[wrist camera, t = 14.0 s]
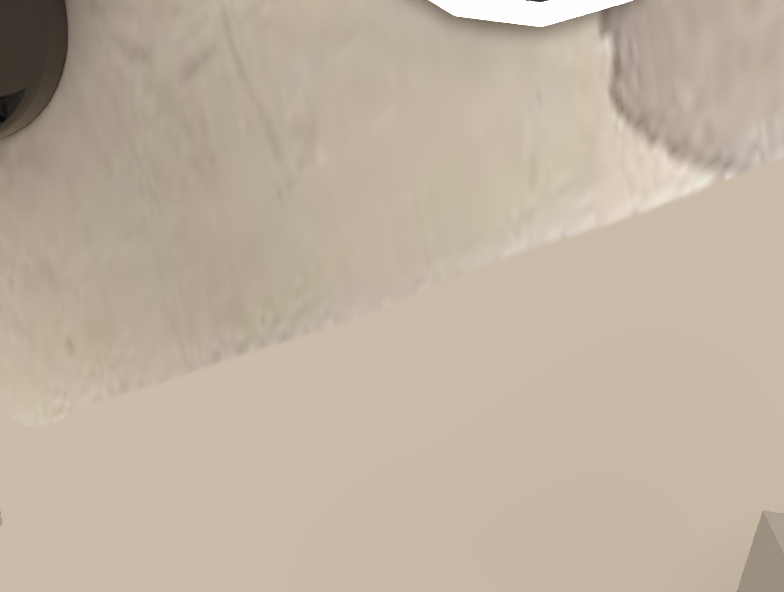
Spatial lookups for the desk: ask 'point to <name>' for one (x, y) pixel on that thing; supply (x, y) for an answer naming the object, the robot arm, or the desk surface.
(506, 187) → the desk surface
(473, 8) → the shallow grey dish
